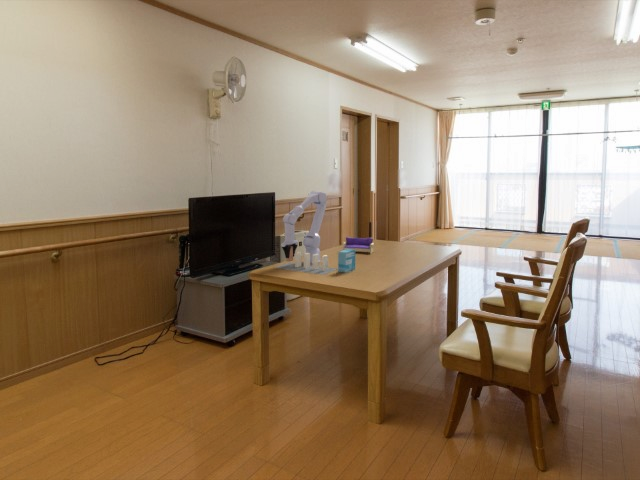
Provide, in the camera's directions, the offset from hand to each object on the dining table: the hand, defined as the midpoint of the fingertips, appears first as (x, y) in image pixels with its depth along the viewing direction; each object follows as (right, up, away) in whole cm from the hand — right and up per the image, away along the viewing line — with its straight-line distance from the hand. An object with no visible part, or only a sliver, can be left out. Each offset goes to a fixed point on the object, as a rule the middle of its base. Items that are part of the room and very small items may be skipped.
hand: (289, 257), depth 271 cm
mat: (+10, -7, -7) cm, 13 cm away
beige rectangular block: (+5, -6, -2) cm, 8 cm away
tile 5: (+21, -7, -12) cm, 25 cm away
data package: (+33, -8, -12) cm, 36 cm away
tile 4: (+15, -7, -8) cm, 19 cm away
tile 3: (+10, -6, -5) cm, 13 cm away
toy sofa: (+44, +1, +48) cm, 65 cm away
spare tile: (0, -2, 0) cm, 2 cm away
